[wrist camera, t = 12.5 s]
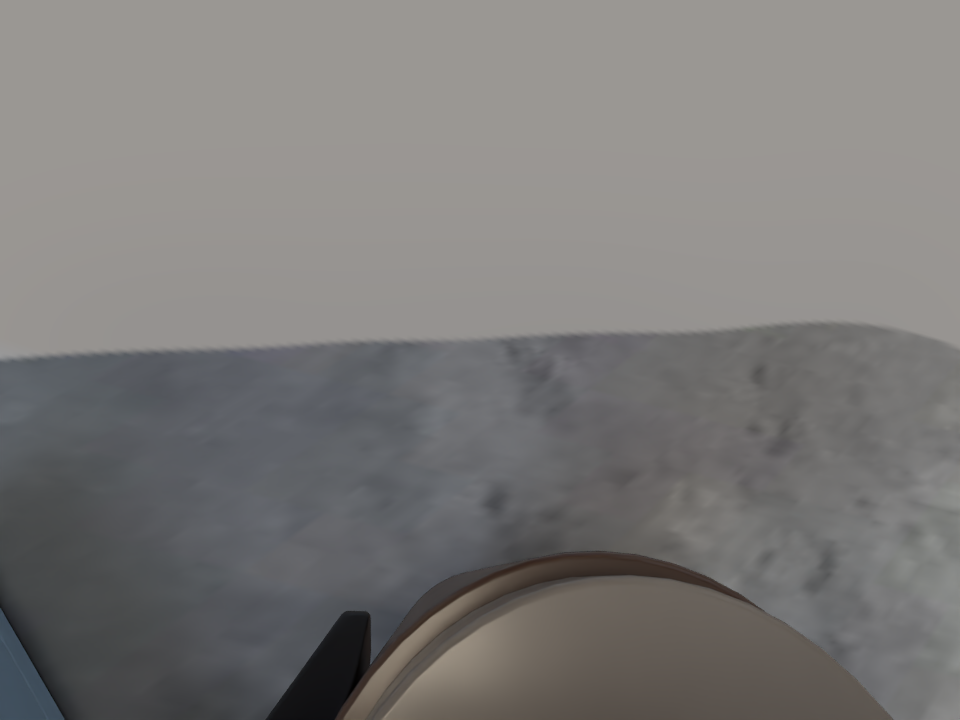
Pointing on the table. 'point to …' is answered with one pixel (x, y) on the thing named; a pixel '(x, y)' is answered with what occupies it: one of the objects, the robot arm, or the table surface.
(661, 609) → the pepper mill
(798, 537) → the table surface
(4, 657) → the tray
